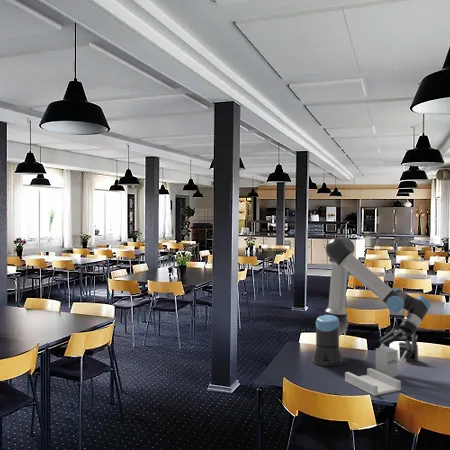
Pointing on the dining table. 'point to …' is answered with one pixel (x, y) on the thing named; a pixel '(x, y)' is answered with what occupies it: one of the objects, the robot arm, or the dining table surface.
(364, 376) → the tray
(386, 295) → the robot arm
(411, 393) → the dining table surface
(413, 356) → the electrical switch
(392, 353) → the supplement box
